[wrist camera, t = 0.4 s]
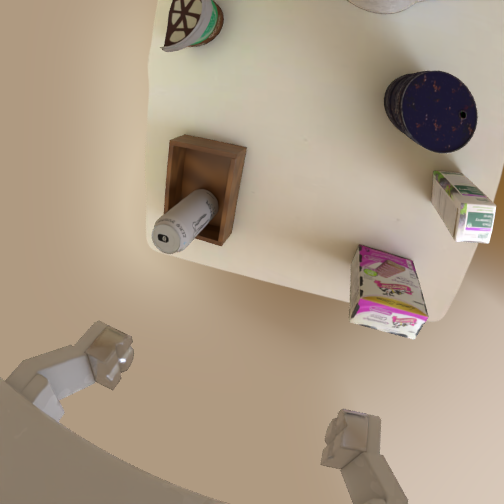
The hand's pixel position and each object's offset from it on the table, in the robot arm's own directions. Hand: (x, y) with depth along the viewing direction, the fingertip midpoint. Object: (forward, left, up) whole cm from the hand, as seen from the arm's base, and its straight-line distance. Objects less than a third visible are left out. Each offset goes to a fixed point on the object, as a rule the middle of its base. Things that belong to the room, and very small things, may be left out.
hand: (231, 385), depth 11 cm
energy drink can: (+15, -18, -44) cm, 50 cm away
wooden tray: (+12, -18, -45) cm, 50 cm away
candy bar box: (+17, +16, -45) cm, 51 cm away
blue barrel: (-11, +12, -45) cm, 48 cm away
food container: (-17, -22, -45) cm, 53 cm away
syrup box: (0, +22, -45) cm, 50 cm away
